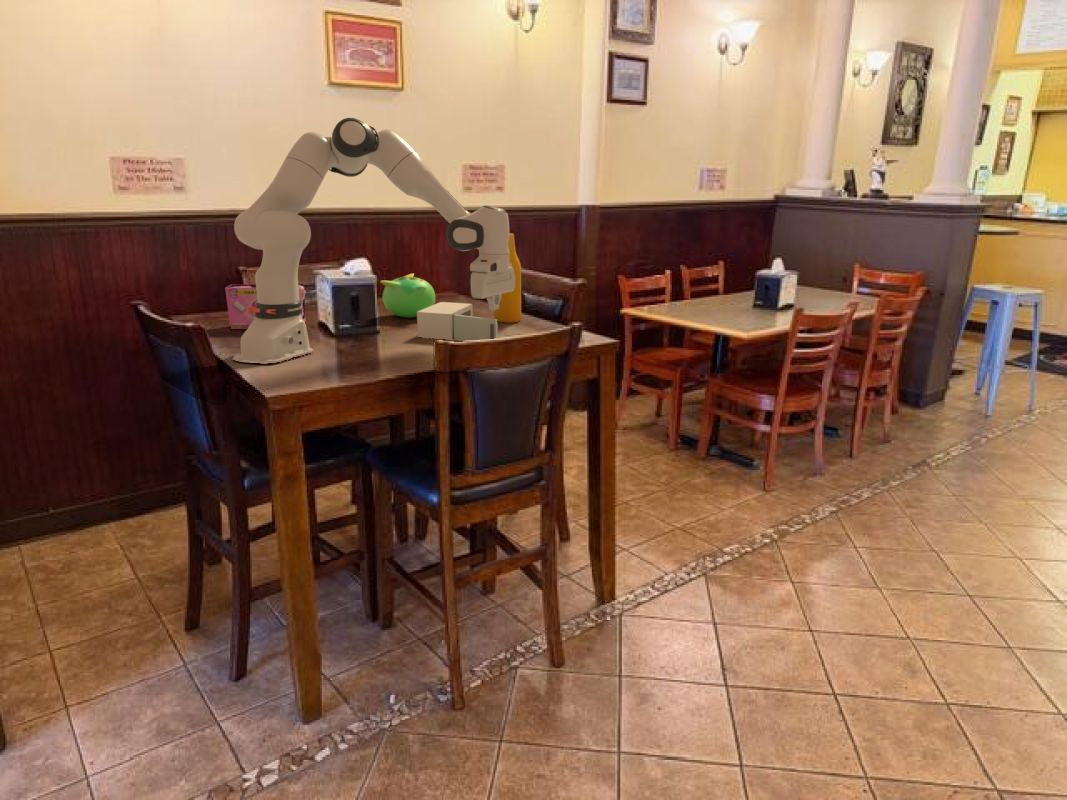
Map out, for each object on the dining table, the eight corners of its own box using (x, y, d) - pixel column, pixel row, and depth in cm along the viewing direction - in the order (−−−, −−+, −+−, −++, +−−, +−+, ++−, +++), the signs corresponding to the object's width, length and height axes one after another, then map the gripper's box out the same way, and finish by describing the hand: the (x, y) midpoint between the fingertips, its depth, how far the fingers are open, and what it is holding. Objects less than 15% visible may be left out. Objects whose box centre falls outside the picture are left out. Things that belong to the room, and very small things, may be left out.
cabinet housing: (451, 340, 227) (450, 314, 225) (417, 337, 230) (416, 311, 228) (475, 327, 246) (474, 302, 243) (444, 324, 249) (443, 300, 246)
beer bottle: (517, 323, 251) (517, 235, 243) (491, 322, 253) (490, 234, 244) (523, 318, 260) (524, 233, 251) (497, 317, 262) (497, 232, 253)
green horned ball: (440, 313, 268) (438, 272, 263) (429, 322, 252) (427, 279, 247) (390, 312, 269) (388, 270, 265) (377, 321, 253) (374, 277, 249)
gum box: (310, 324, 249) (307, 283, 245) (306, 329, 241) (302, 286, 237) (236, 325, 246) (231, 283, 242) (229, 330, 239) (224, 287, 235)
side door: (450, 339, 227) (449, 315, 224) (453, 338, 228) (453, 314, 226) (494, 345, 220) (494, 320, 217) (497, 344, 221) (497, 319, 219)
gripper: (502, 259, 230) (502, 303, 234) (466, 265, 213) (466, 313, 217) (520, 260, 227) (519, 305, 231) (485, 267, 210) (485, 316, 214)
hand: (493, 309), depth 224 cm, fingers closed
